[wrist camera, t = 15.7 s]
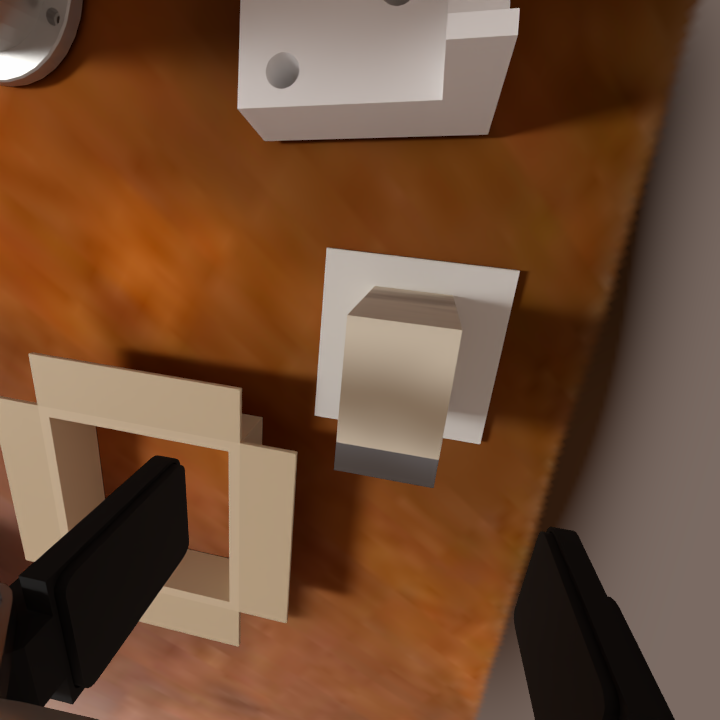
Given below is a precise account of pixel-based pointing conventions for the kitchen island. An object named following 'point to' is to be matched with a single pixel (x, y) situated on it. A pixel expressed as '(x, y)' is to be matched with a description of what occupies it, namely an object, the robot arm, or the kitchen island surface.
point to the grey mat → (464, 281)
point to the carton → (171, 422)
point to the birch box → (397, 384)
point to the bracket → (373, 67)
